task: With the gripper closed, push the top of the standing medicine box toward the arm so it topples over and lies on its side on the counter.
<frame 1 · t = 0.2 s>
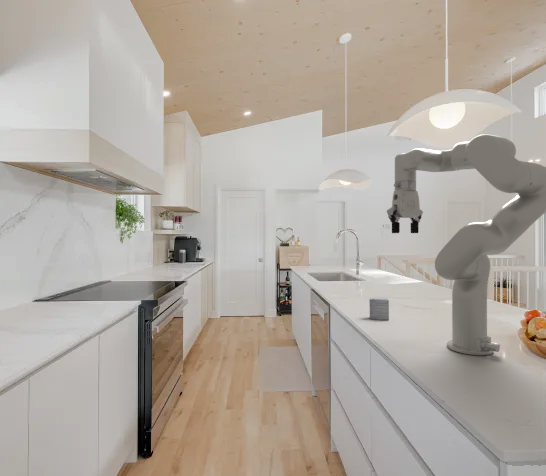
hand: (405, 233, 131), 37 cm above the worktop, tool pointing down, fingers open, 9 cm apart
medicine box: (379, 319, 151), on the worktop
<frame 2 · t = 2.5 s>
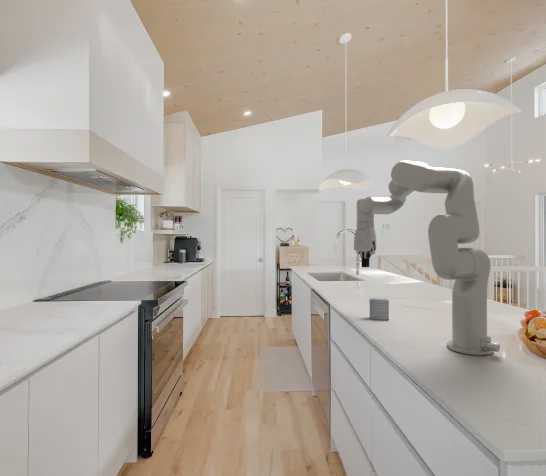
hand: (365, 266, 158), 22 cm above the worktop, tool pointing down, fingers closed
nothing on the worktop moved.
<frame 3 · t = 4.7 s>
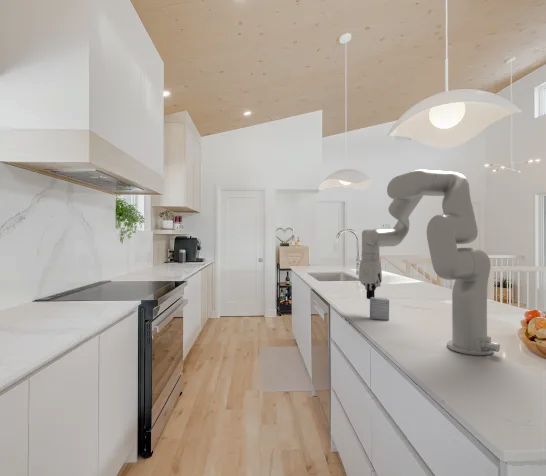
hand: (370, 298, 156), 8 cm above the worktop, tool pointing down, fingers closed
medicine box: (379, 318, 151), on the worktop, touching gripper
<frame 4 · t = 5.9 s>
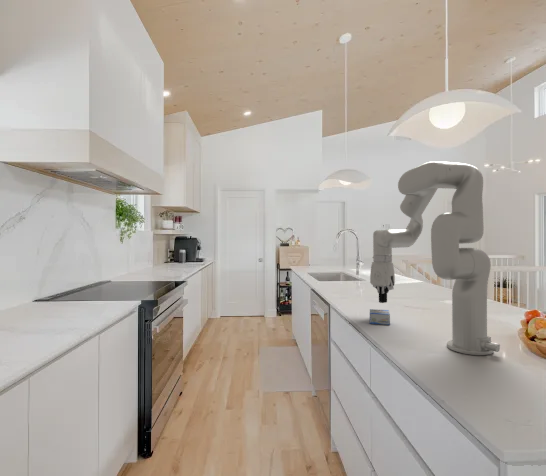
hand: (382, 302, 149), 7 cm above the worktop, tool pointing down, fingers closed
medicine box: (379, 314, 149), point 2 cm above the worktop
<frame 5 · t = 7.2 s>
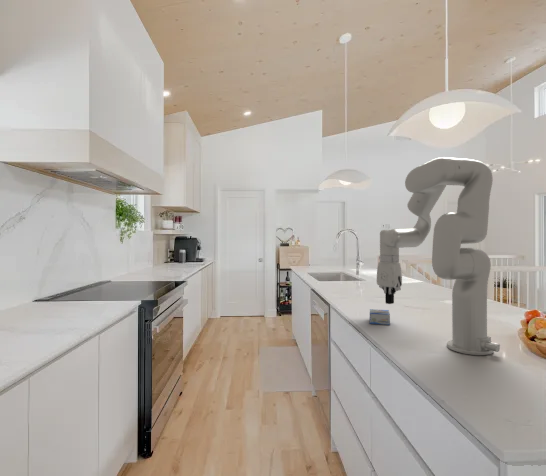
hand: (389, 303, 146), 8 cm above the worktop, tool pointing down, fingers closed
nothing on the worktop moved.
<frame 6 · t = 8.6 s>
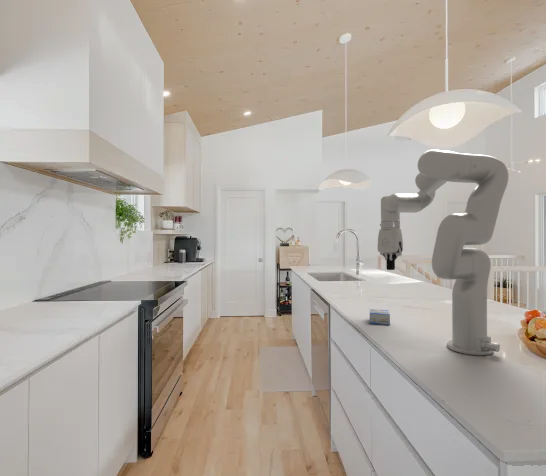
hand: (390, 269, 147), 22 cm above the worktop, tool pointing down, fingers closed
nothing on the worktop moved.
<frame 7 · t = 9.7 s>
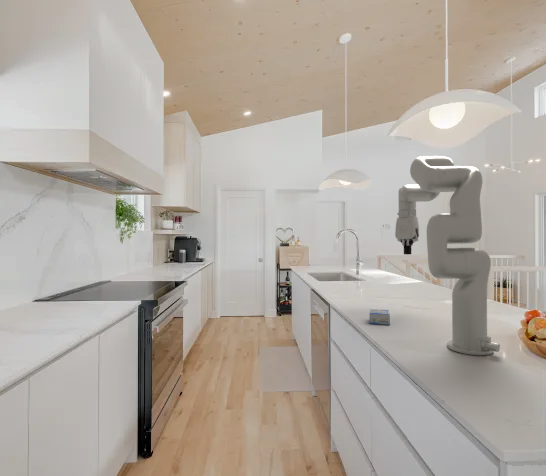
hand: (407, 254, 161), 27 cm above the worktop, tool pointing down, fingers closed
nothing on the worktop moved.
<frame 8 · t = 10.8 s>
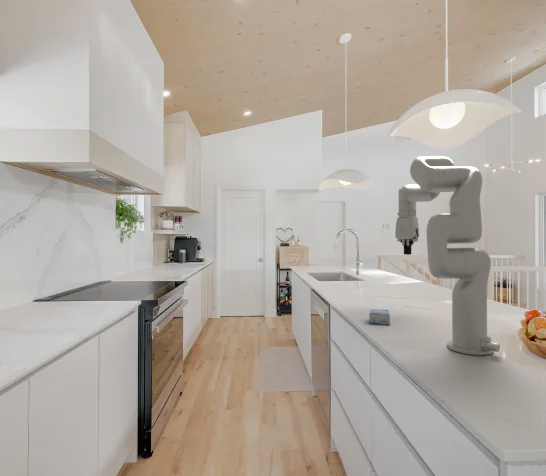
hand: (407, 254, 161), 27 cm above the worktop, tool pointing down, fingers closed
nothing on the worktop moved.
at the end: medicine box tilted 89°; medicine box touching worktop; medicine box inside the target area (2.9 cm from its centre), point 2.1 cm above the worktop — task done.
